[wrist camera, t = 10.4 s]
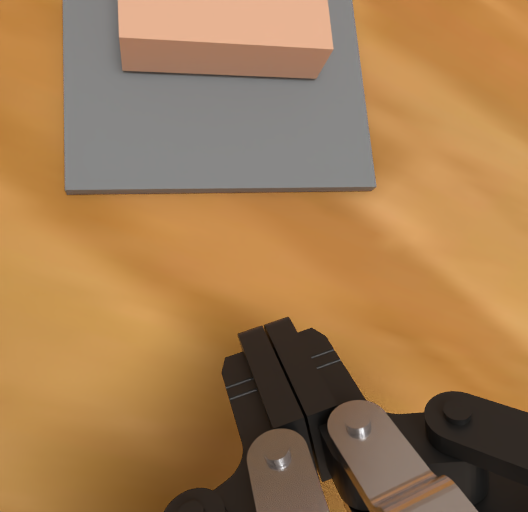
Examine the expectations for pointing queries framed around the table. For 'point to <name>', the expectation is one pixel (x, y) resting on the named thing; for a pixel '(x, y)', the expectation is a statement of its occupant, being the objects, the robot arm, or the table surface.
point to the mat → (209, 119)
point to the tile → (226, 37)
